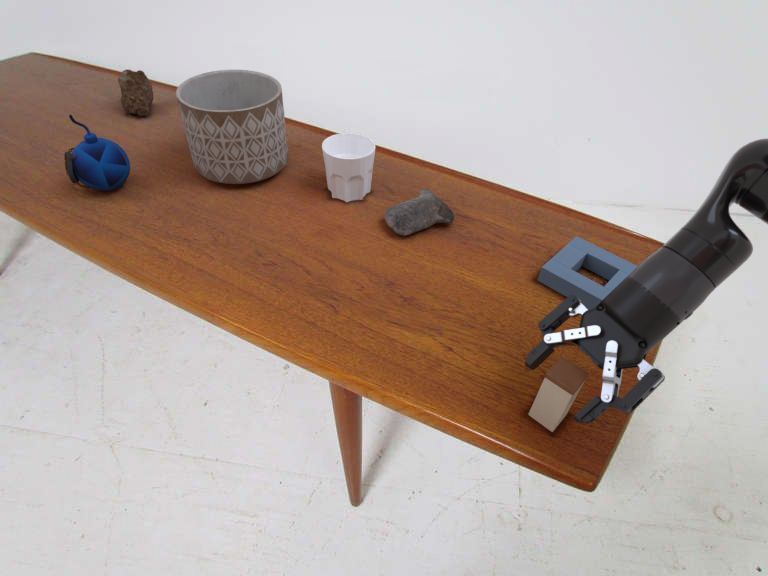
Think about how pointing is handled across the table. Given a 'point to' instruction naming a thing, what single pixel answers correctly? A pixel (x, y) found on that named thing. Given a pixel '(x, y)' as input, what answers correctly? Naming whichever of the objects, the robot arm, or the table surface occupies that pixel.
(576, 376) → the brown square block
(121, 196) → the table surface
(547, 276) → the blue square frame
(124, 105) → the rock
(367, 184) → the cup
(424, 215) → the stone
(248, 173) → the planter
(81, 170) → the bomb
